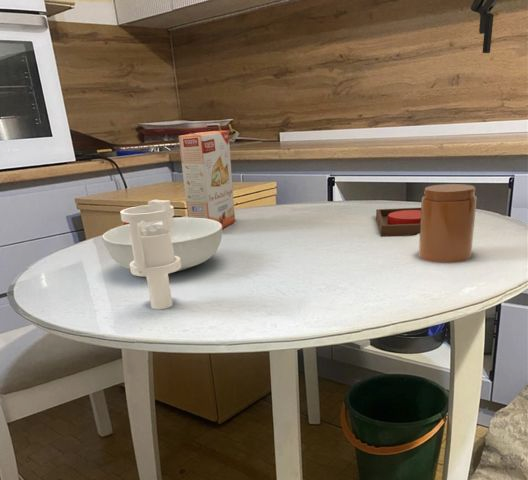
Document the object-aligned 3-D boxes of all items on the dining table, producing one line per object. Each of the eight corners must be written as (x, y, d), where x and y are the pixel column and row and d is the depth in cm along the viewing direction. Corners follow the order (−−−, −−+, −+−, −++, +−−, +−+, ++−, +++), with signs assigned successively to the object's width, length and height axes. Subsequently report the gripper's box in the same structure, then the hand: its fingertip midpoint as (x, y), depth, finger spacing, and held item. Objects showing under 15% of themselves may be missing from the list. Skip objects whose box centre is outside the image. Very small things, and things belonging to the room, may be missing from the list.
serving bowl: (128, 293, 84) (120, 250, 81) (97, 265, 101) (90, 229, 98) (245, 267, 93) (242, 228, 90) (198, 246, 110) (194, 212, 107)
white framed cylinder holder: (169, 316, 73) (152, 205, 67) (127, 312, 76) (107, 205, 70) (195, 299, 79) (181, 195, 73) (155, 296, 82) (139, 195, 75)
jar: (476, 254, 91) (483, 184, 86) (462, 267, 85) (469, 192, 80) (428, 249, 95) (432, 183, 90) (411, 262, 89) (414, 191, 84)
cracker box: (212, 235, 118) (202, 133, 109) (188, 234, 120) (176, 135, 111) (237, 221, 130) (229, 129, 121) (215, 221, 132) (205, 130, 123)
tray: (451, 233, 105) (452, 223, 104) (380, 236, 107) (381, 225, 106) (437, 216, 120) (438, 206, 119) (376, 218, 122) (376, 209, 122)
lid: (391, 218, 119) (391, 209, 118) (436, 218, 116) (436, 209, 115) (384, 227, 111) (384, 218, 110) (432, 228, 108) (433, 219, 107)
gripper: (460, -79, 95) (451, 55, 104) (625, -119, 82) (598, 39, 91) (471, -71, 101) (462, 56, 110) (628, -107, 88) (602, 41, 97)
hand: (523, 49), depth 100 cm, fingers open, 13 cm apart
